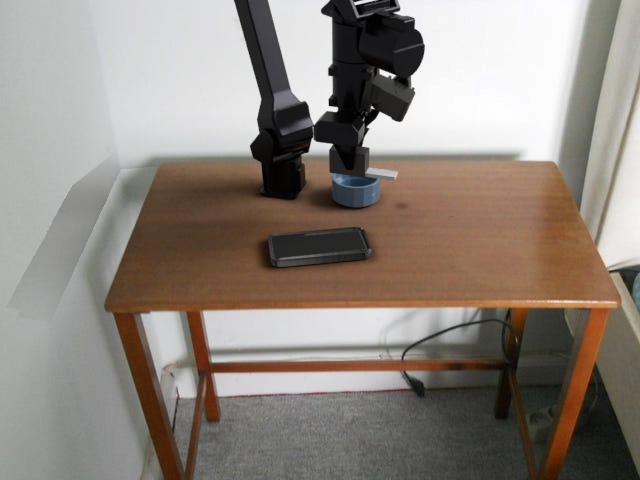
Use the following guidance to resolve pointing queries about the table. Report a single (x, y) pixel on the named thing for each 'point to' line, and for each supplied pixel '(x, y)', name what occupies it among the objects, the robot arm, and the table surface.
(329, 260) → the phone
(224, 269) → the table surface
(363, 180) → the bowl
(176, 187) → the table surface
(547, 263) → the table surface
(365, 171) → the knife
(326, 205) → the table surface
